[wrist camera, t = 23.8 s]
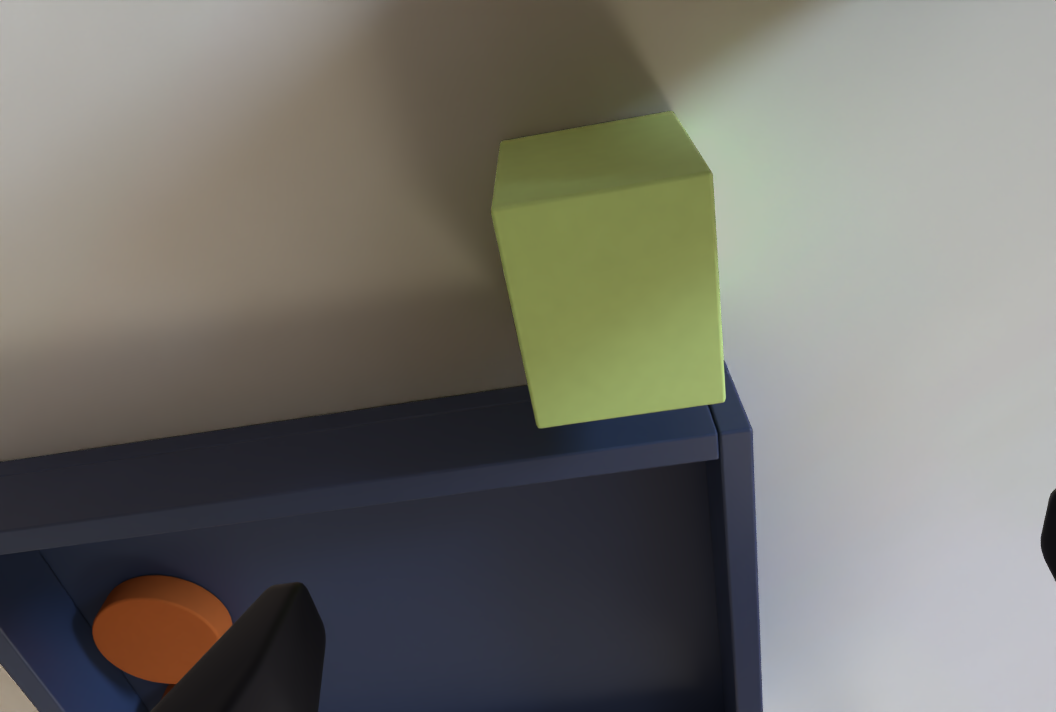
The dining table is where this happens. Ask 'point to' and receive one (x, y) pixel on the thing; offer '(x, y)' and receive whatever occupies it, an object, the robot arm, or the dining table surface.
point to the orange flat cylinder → (158, 626)
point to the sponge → (611, 269)
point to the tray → (414, 554)
